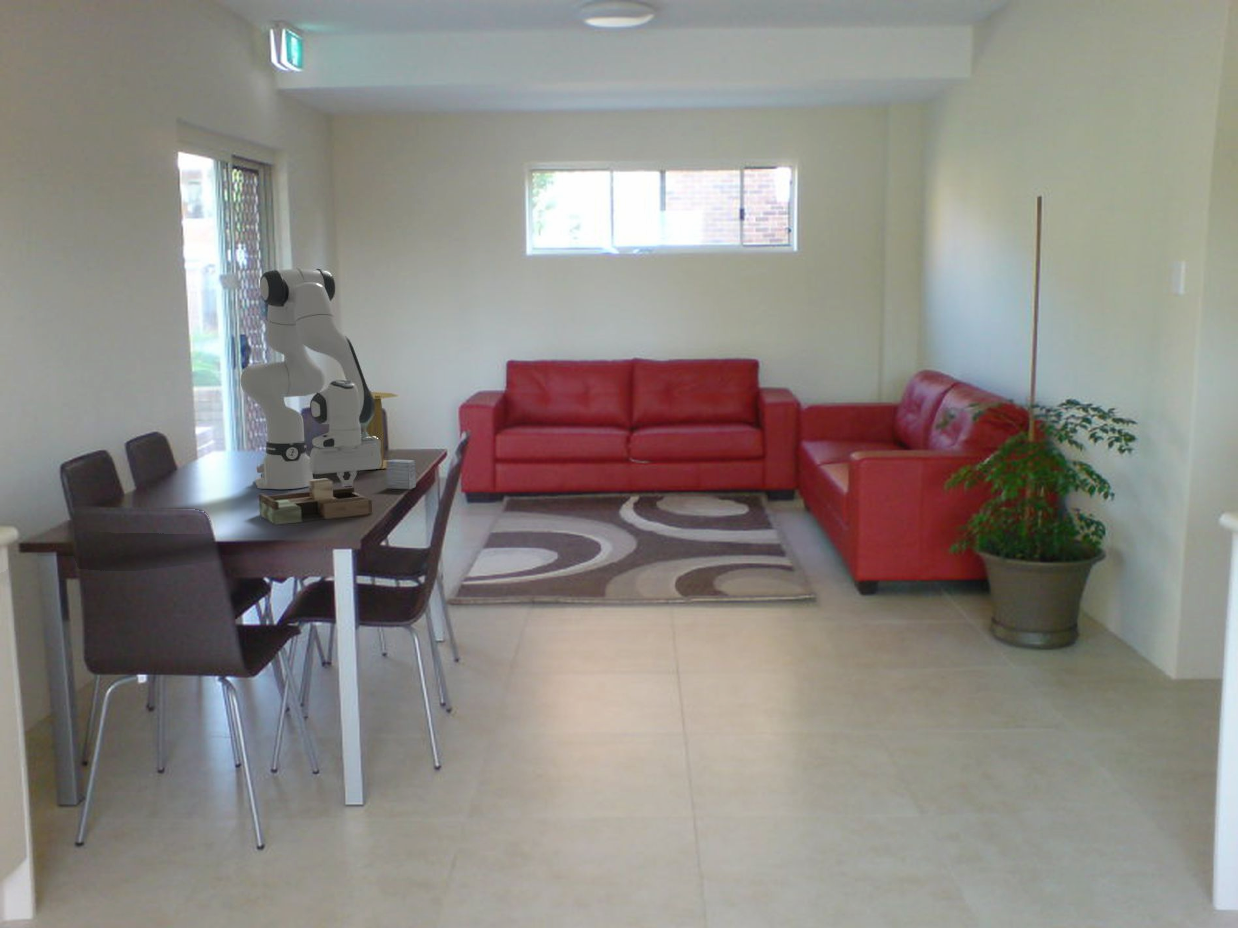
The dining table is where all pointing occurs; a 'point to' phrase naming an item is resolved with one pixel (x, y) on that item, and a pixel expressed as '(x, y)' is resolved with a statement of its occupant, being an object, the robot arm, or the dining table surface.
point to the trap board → (313, 506)
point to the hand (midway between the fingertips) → (347, 486)
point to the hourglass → (376, 422)
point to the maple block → (321, 489)
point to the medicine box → (400, 474)
